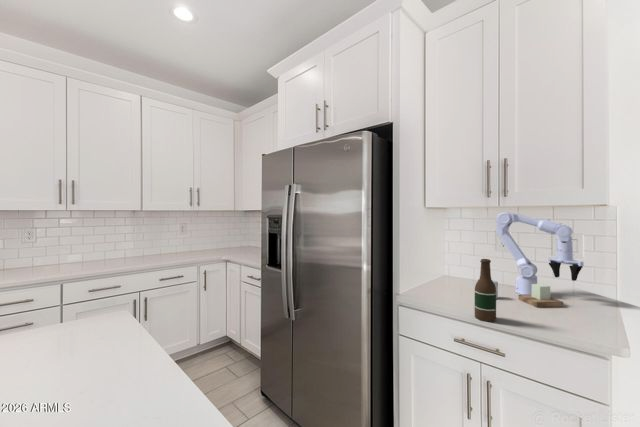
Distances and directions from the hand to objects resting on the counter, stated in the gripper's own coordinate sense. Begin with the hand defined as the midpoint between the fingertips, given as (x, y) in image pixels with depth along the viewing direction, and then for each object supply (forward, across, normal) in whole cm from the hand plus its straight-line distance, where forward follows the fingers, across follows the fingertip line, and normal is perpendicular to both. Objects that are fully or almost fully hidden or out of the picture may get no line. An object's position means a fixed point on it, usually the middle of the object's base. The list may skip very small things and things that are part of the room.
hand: (565, 278), depth 144 cm
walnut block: (+11, -1, -16) cm, 19 cm away
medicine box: (+10, -15, -32) cm, 37 cm away
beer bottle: (+10, +7, -56) cm, 58 cm away
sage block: (+8, -1, -16) cm, 17 cm away
